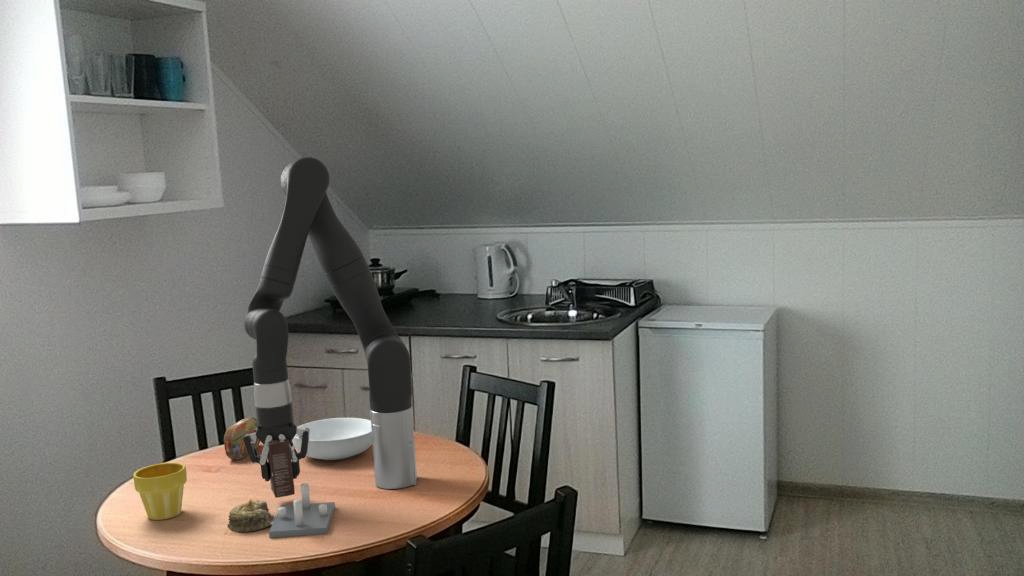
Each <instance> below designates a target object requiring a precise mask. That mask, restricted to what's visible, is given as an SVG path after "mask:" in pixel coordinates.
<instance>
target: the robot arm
mask: <svg viewBox="0 0 1024 576" xmlns="http://www.w3.org/2000/svg"><path fill="white" fill-rule="evenodd" d="M330 178H331V177H330V173H329V170H328V169H327V167H326V165H325V164H324V162H322V161H321V160H319V159H317V158H315V157H309V156H307V157H306V156H305V157H301V158H297V159H295V160H294V161H292V162H290V163H288V164H287V165H286V166H285V167H284V169H283V171H282V172H281V175H280V185H281V190H282V192H283V194H284V195H285V203H284V208H283V212H282V215H281V219H280V222H279V225H278V227H277V230H276V232H275V234H274V237H273V239H272V242H271V245H270V246H269V249H268V252H267V254H266V257H265V260H264V265H263V267H262V271H261V275H260V278H259V284H258V286H257V287H256V290H255V292H254V293H253V296H252V298H251V300H250V302H249V304H248V306H247V309H246V312H245V314H244V321H243V327H244V330H245V333H246V334H247V335H248V336H249V337H250V338H252V339H254V340H256V354H255V355H254V356H253V358H252V361H251V362H252V363H251V364H252V373H253V397H254V398H253V400H254V401H253V403H254V406H255V416H256V419H257V427H258V428H257V431H256V432H255V433H252V434H250V433H247V434H246V435H245V437H244V439H243V440H244V443H245V446H246V449H247V452H248V457H249V461H250V462H251V463H252V464H255V463H256V464H259V465H260V471H261V478H262V480H264V481H265V482H270V469H269V462H268V453H269V447H268V442H271V441H272V440H279V439H280V441H282V440H287V439H288V440H289V444H290V452H291V462H292V471H293V480H297V478H298V476H299V475H300V473H301V467H300V460H302V459H305V458H306V457H307V456H306V454H307V450H308V442H309V435H310V429H309V428H306V429H297V427H298V426H296V424H295V420H294V419H295V418H294V409H293V400H292V397H293V396H292V389H291V384H290V381H289V379H290V378H289V372H288V371H289V370H288V363H287V354H288V347H289V327H288V326H289V325H288V322H287V319H286V316H284V314H283V313H282V312H281V308H282V306H283V304H284V301H285V300H287V299H289V298H290V297H291V296H292V293H293V291H294V288H295V284H296V280H297V277H298V273H299V269H300V265H301V260H302V257H303V254H304V249H305V247H306V243H307V239H309V241H310V243H311V245H312V248H313V250H314V252H315V253H314V254H315V255H316V258H317V260H318V262H319V265H320V268H321V269H322V272H323V274H324V276H325V278H326V280H327V282H328V284H329V286H330V288H331V290H332V292H333V294H334V295H335V298H337V300H338V302H339V305H341V307H342V308H343V310H344V311H345V313H346V314H347V316H348V317H349V318H350V320H351V322H352V323H353V325H354V327H355V330H356V332H357V335H358V337H359V340H360V342H361V345H362V349H363V352H364V355H365V360H366V363H367V374H368V375H367V376H368V377H367V378H368V391H369V392H368V393H369V394H368V396H369V399H368V400H369V414H370V421H371V430H372V445H371V446H372V456H373V457H372V458H373V459H372V460H373V470H374V484H375V486H376V487H377V488H380V489H385V490H386V489H387V490H396V489H403V488H407V487H411V486H416V485H417V479H418V472H417V471H418V470H417V458H416V457H417V455H416V453H417V452H416V441H415V439H416V437H415V435H414V434H415V433H414V420H413V405H412V404H413V403H412V401H413V400H412V399H413V398H412V397H413V396H412V394H413V387H412V386H413V385H412V367H411V365H412V364H411V356H410V352H409V349H408V347H407V346H406V344H405V343H404V341H403V340H402V338H401V337H400V336H399V334H398V333H397V331H396V330H395V327H394V326H393V325H392V322H391V321H390V319H389V317H388V316H387V314H386V312H385V309H384V307H383V304H382V300H381V297H380V294H379V292H378V291H379V290H378V288H377V285H376V282H375V280H374V276H373V274H372V271H371V269H370V267H369V265H368V262H367V261H366V258H365V257H364V255H363V252H362V251H361V248H360V247H359V245H358V243H357V241H356V240H355V239H354V238H353V236H352V235H351V234H350V232H349V231H348V230H347V229H346V227H345V226H344V225H343V224H342V222H341V221H340V219H339V218H338V216H337V215H336V213H335V210H334V208H333V206H332V204H331V201H330V199H329V196H328V193H327V190H328V188H329V186H330ZM296 434H298V436H299V439H300V440H302V443H301V451H298V450H297V448H296V447H295V445H294V443H293V438H294V436H295V435H296ZM256 437H257V438H258V439H259V440H260V443H262V445H263V449H262V452H261V455H259V454H258V453H259V452H258V450H257V449H256V447H255V445H254V443H255V442H256Z"/></svg>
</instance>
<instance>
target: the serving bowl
mask: <svg viewBox="0 0 1024 576" xmlns="http://www.w3.org/2000/svg"><path fill="white" fill-rule="evenodd" d="M296 427H297V429H306V428H309V429H310V435H309V442H308V450H307V454H306V457H309V458H312V459H317V460H323V461H339V460H344V459H347V458H350V457H354V456H357V455H359V454H361V453H363V452H365V451H367V449H369V448H370V447H371V446H373V445H372V430H371V419H367V418H360V417H334V418H333V417H331V418H324V419H318V420H313V421H310V422H307V423H303V424H301V425H298V426H296ZM292 442H293V443H294V445H295V449H296V450H297V451H298V452H300V451H301V443H302V440H300V439H299V436H298V434H296V435H295V436H294V438H293V440H292Z"/></svg>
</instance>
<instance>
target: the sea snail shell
mask: <svg viewBox="0 0 1024 576" xmlns="http://www.w3.org/2000/svg"><path fill="white" fill-rule="evenodd" d="M276 516H277V514H271V512H270V508H269V507H268V503H267V502H266V501H265V500H259V499H256V500H252V498H250V499H249V500H248V501H247V502H246V501H245V503H241V504H238V505H237V506H234V507H233V508H232V509H231V510H230V512H229V514H228V519H227V520H228V524H227V529H228V530H230V531H231V532H234V533H248V532H253V531H258V530H259V531H260V530H262V529H265V528H267V527H270V526H272V524H273V522H274V520H275V518H276ZM269 519H270V520H269Z"/></svg>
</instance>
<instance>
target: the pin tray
mask: <svg viewBox="0 0 1024 576" xmlns="http://www.w3.org/2000/svg"><path fill="white" fill-rule="evenodd" d="M309 484H310V483H301V484H300V493H301V494H300V495H301V496H300V497H301V499H300V498H297V499H294V500H293V504H287V505H281V506H278V508H277V514H276V518H275V520H274V522H273V524H272V525H270V526H271V527H270V529H269V531H268V538H283V537H284V538H285V537H299V536H300V537H301V536H311V535H313V536H314V535H325V534H327V533H328V530H329V527H330V524H331V521H332V519H333V515H334V512H335V509H336V503H335V501H329V502H316V503H315V502H314V503H311V499H310V498H311V497H310V487H309V486H310V485H309Z"/></svg>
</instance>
